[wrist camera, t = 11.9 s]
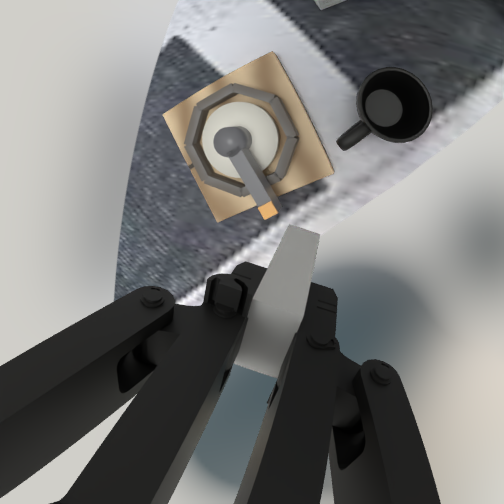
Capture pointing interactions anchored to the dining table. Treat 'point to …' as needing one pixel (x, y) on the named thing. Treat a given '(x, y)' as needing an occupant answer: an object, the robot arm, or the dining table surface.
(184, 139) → the dial board
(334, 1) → the supplement box
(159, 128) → the dining table surface
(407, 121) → the mug
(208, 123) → the dial
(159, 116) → the dining table surface
